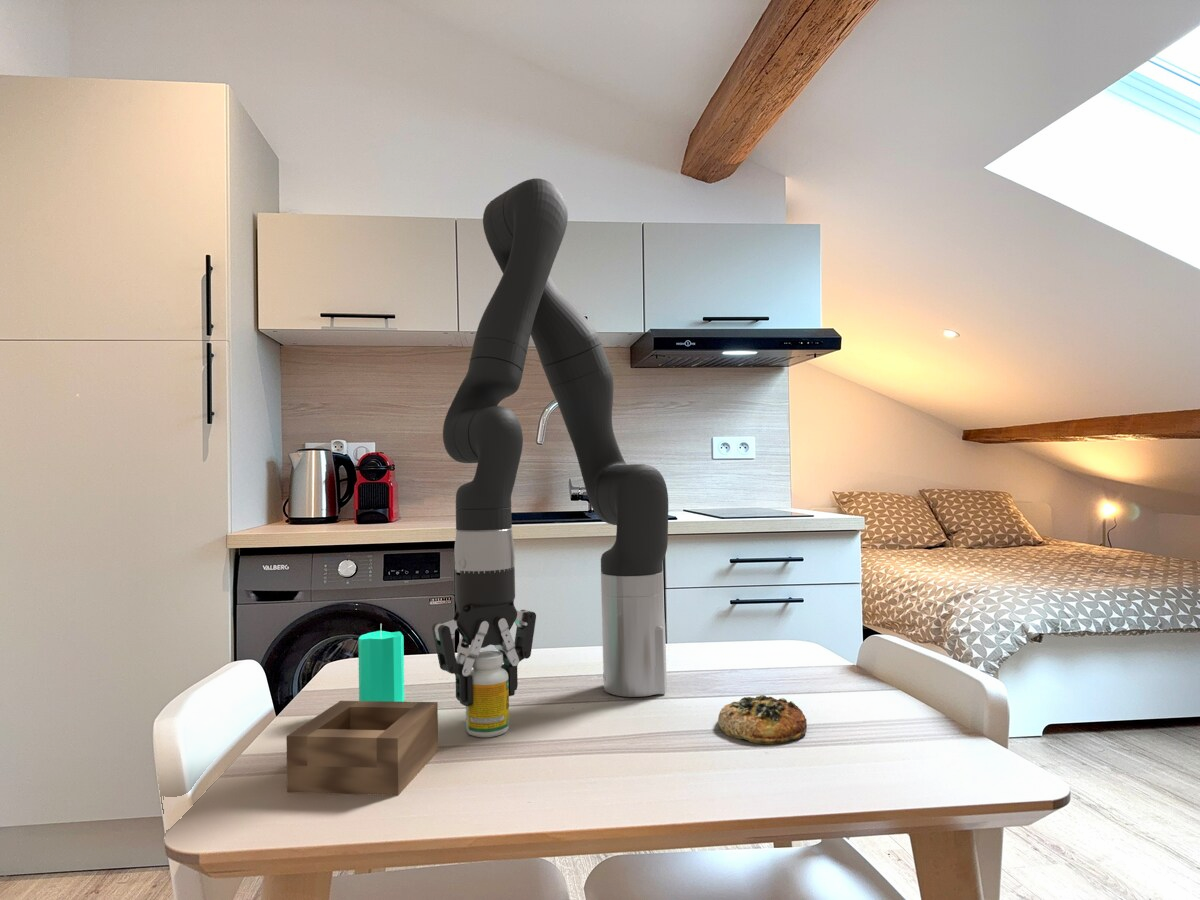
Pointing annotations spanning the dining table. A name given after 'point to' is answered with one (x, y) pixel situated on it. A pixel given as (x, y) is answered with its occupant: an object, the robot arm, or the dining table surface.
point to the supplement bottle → (488, 696)
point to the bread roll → (763, 720)
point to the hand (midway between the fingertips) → (487, 699)
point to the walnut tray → (362, 748)
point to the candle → (381, 666)
